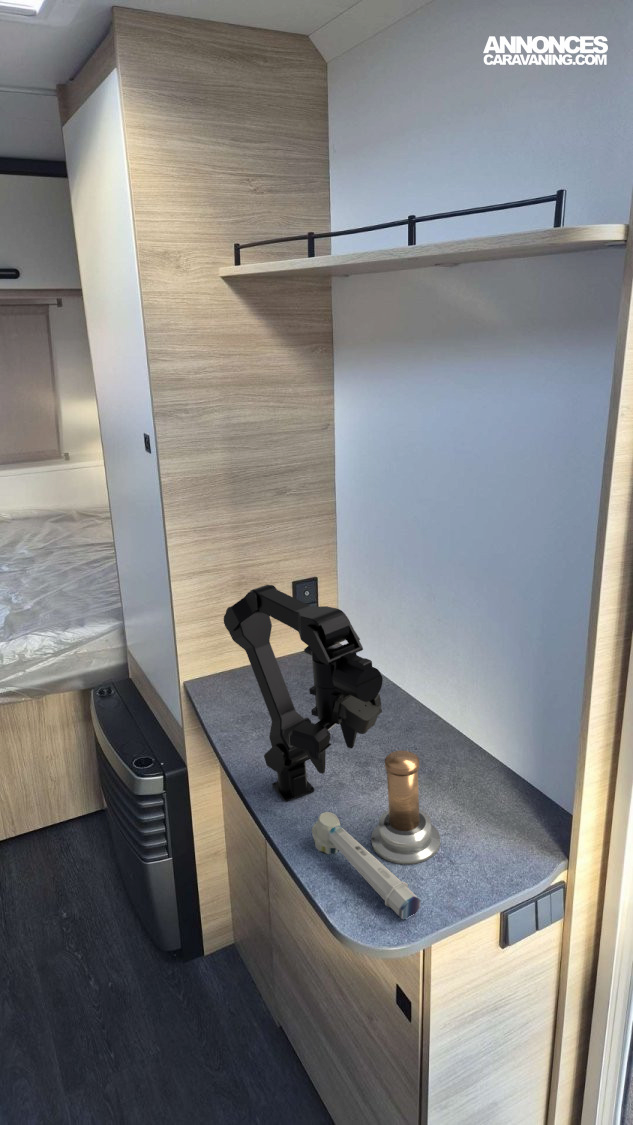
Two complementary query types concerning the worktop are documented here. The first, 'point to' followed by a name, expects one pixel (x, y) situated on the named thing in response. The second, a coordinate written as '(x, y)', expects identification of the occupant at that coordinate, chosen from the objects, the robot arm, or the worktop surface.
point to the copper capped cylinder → (403, 790)
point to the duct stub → (405, 841)
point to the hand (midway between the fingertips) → (336, 759)
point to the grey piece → (364, 865)
